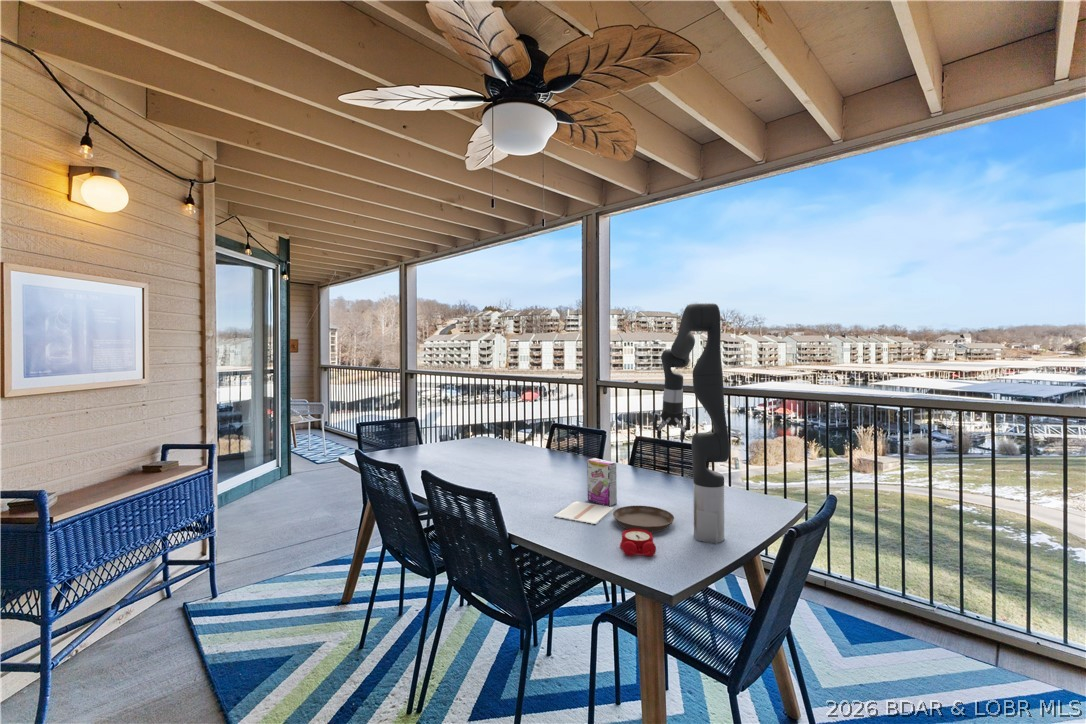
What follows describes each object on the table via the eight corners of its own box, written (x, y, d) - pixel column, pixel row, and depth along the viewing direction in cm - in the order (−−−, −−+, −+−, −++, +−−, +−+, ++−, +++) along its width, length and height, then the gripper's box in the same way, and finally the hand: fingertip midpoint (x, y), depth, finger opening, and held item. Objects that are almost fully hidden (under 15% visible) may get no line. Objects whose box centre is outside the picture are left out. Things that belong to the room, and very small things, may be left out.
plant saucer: (648, 510, 175) (648, 501, 175) (687, 529, 156) (687, 519, 156) (601, 519, 166) (601, 510, 166) (637, 540, 148) (637, 530, 147)
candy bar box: (586, 500, 186) (586, 459, 186) (595, 497, 190) (594, 457, 189) (609, 507, 178) (608, 464, 178) (617, 504, 182) (616, 462, 181)
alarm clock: (651, 528, 148) (659, 536, 133) (652, 549, 147) (660, 559, 132) (618, 527, 149) (622, 535, 134) (619, 548, 148) (622, 558, 133)
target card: (595, 525, 160) (595, 523, 160) (554, 517, 168) (554, 515, 168) (614, 508, 176) (614, 507, 176) (575, 502, 184) (575, 500, 184)
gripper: (655, 401, 181) (653, 441, 184) (693, 402, 180) (690, 443, 182) (653, 397, 189) (651, 436, 191) (689, 398, 188) (686, 437, 190)
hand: (670, 439), depth 187 cm, fingers open, 8 cm apart
